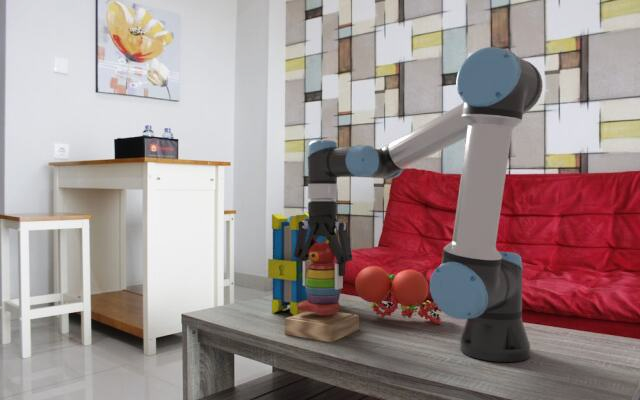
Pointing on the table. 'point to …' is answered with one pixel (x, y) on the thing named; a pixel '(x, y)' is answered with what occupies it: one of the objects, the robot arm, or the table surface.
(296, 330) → the oak stand
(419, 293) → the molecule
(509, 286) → the robot arm
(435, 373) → the table surface
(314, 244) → the stacking bear
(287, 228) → the decorative book
